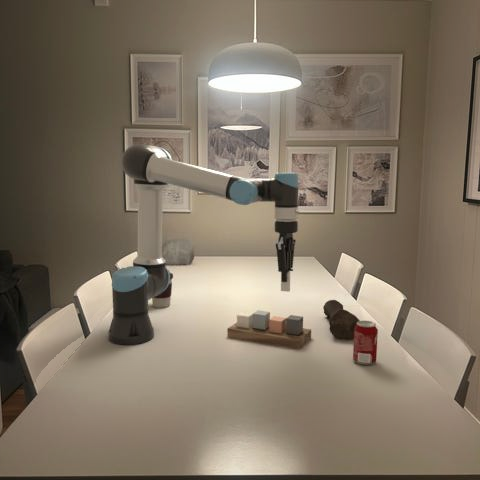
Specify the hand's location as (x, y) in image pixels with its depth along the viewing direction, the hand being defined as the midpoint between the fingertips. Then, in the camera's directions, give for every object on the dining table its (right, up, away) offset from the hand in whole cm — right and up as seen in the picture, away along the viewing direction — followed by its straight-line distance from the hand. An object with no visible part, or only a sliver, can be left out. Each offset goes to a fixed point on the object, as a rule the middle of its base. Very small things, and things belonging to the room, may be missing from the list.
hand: (285, 290), depth 163 cm
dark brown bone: (+20, -16, +15) cm, 30 cm away
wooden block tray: (-5, -16, +5) cm, 18 cm away
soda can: (+22, -20, -16) cm, 34 cm away
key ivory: (-13, -14, +8) cm, 21 cm away
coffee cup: (-48, -11, +43) cm, 65 cm away
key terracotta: (-2, -15, +3) cm, 15 cm away
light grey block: (-8, -13, +5) cm, 16 cm away
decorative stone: (-53, +2, +132) cm, 143 cm away
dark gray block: (+3, -14, 0) cm, 14 cm away
